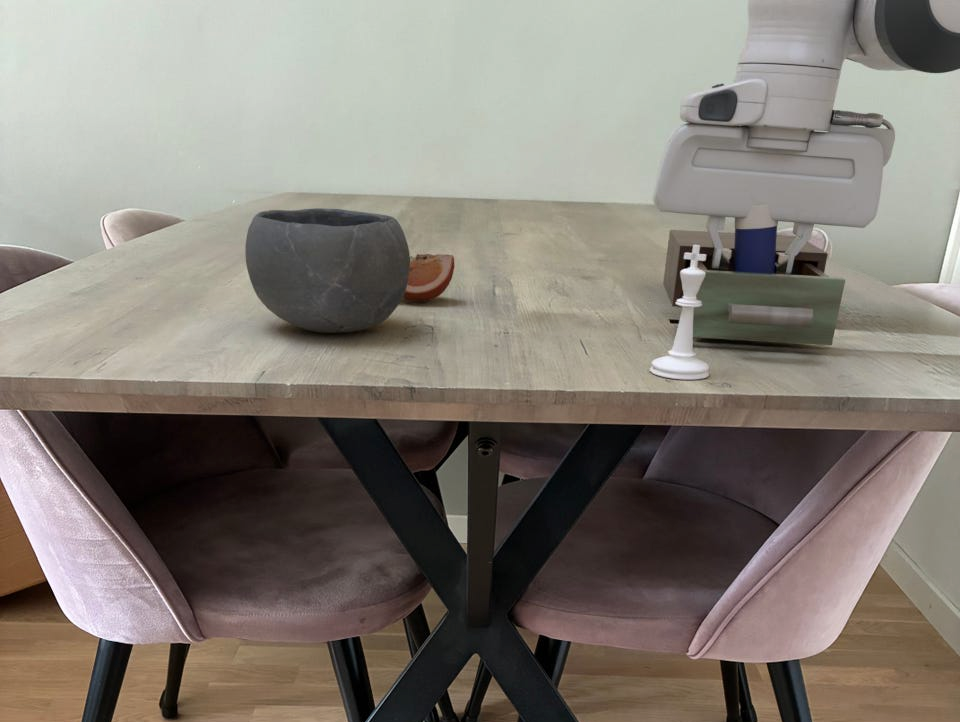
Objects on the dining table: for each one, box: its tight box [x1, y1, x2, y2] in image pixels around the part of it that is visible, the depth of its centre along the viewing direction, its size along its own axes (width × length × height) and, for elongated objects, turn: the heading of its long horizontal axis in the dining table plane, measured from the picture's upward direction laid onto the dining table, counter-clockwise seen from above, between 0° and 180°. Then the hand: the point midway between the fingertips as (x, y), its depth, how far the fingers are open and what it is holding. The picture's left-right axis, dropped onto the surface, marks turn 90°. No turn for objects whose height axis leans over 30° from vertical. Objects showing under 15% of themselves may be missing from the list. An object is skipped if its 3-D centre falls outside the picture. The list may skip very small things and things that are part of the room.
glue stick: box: [734, 204, 779, 274], centre depth 91 cm, size 4×4×10 cm
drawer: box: [682, 255, 846, 346], centre depth 92 cm, size 19×13×6 cm
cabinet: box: [662, 229, 829, 325], centre depth 104 cm, size 16×15×8 cm
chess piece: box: [649, 245, 710, 381], centre depth 78 cm, size 5×5×10 cm
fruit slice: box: [402, 253, 455, 303], centre depth 105 cm, size 8×7×5 cm
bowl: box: [244, 207, 411, 334], centre depth 88 cm, size 15×15×10 cm
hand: (749, 271), depth 91 cm, fingers closed on glue stick, 4 cm apart
